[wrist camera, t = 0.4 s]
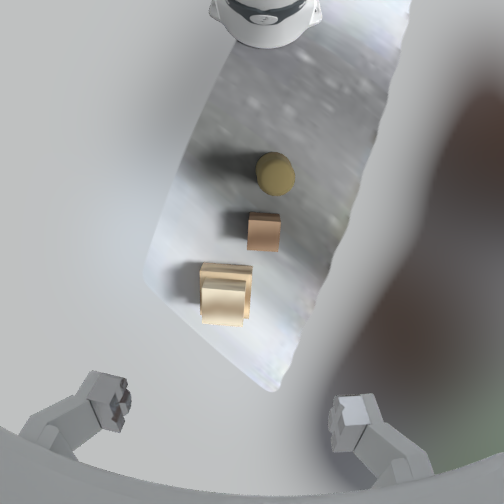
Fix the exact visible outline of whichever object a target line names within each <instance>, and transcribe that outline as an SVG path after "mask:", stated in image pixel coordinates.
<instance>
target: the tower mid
mask: <svg viewBox="0 0 504 504" xmlns="http://www.w3.org/2000/svg"><path fill="white" fill-rule="evenodd" d="M245 291H246V280H233V279H221V278H209V277H206V278H205V281H204V284H203V286H202V323H203V324H213V325H224V326H235V327H243V319H244V306H245Z"/></svg>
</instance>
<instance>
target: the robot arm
mask: <svg viewBox="0 0 504 504" xmlns="http://www.w3.org/2000/svg"><path fill="white" fill-rule="evenodd" d="M315 11H316V12H315ZM314 12H315V13H314ZM209 14H210V16H211V17H212V18H214V19H215V20H217V21H219V22H221V23H222V24H223V25H224V26H225V27H226V29H227V30H228V32H229V33H230V34H231V35H232V36H233V37H234V38H235V39H237V40H238V41H240V42H242V43H244V44H246V45H249V46H252V47H256V48H277V47H281V46H284V45H287V44H289V43H291V42H293V41H294V40H296V39H297V38H298V37H299V36H300V35H301V34H302V33H303V32H304V31H305V30H306V29H307V28H309V27H311V26H314V25H316V24H318V23H320V22H321V20H322V13H321V8H320V4H319V0H212V3H211V5H210V8H209ZM127 386H128V383H127V379H125V378H123V377H118V376H114V375H110V374H106V373H101V372H97V371H93V370H92V371H91V372H89V374H88V376H87V377H86V379H85V380H84V382H83V383H82V385H81V387H80V388H79V390H78V392H77V393H76V395H75V396H73V395H71V396H69V397H67V398H65V399H64V400H61V401H59V402H58V403H56V404H54V405H52V406H50V407H48V408H46V409H44V410H42V411H40V412H37V413H36V414H33V415H31V416H30V418H29V419H28V421H27V422H26V424H25V425H24V427H23V428H22V430H21V432H20V433H19V435H16V434H14V433H12V432H10V431H8V430H6V429H4V428H3V427H1V426H0V504H504V453H498V454H495V455H493V456H490V457H488V458H485V459H482V460H480V461H477V462H474V463H472V464H469V465H466V466H463V467H460V468H457V469H454V470H451V471H447V472H444V473H441V474H438V475H435V474H434V472H433V469H432V466H431V464H430V461H429V458H428V456H427V453H426V452H425V451H424V450H422V449H421V448H420V447H418V446H417V445H416V444H414V443H413V442H412V441H410V440H409V439H408V438H406V437H405V436H404V435H402V434H401V433H400V432H398V431H397V430H396V429H395V428H393V427H392V426H391V425H389V424H388V423H384V422H383V419H382V416H381V413H380V411H379V408H378V405H377V402H376V399H375V397H374V395H373V394H361V395H360V394H355V395H336V396H335V398H334V400H333V404H334V407H333V408H331V410H330V412H329V417H328V427H329V431H330V432H331V433H332V434H333V435H332V437H331V444H332V449H333V452H349V451H353V453H354V454H355V455H356V456H357V457H358V458H359V459H360V460H361V461H362V462H363V463H364V465H365V466H366V467H367V468H368V469H369V470H370V471H371V472H372V473H373V474H374V475H375V476H376V477H377V478H378V480H377V481H376V482H375V484H374V485H373V486H372V487H371V489H367V490H360V491H352V492H344V493H333V494H321V495H302V496H258V495H238V494H226V493H216V492H207V491H199V490H192V489H184V488H179V487H173V486H168V485H163V484H158V483H153V482H148V481H144V480H139V479H135V478H132V477H127V476H124V475H120V474H116V473H113V472H110V471H106V470H103V469H99V468H97V467H93V466H90V465H88V464H85V463H82V462H79V461H78V459H77V458H76V456H75V455H74V453H73V452H72V451H74V450H75V449H76V448H78V447H79V446H81V445H82V444H83V443H85V442H86V441H87V440H89V439H90V438H91V437H93V436H94V435H95V434H97V433H98V432H99V431H100V430H101V429H105V430H109V431H114V432H118V433H120V432H121V430H122V427H123V425H124V423H125V420H124V417H123V416H125V415H126V414H128V413H129V410H130V407H131V402H132V401H131V394H130V392H129V391H128V390H127V389H126V388H127Z"/></svg>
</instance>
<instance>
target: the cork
mask: <svg viewBox="0 0 504 504" xmlns="http://www.w3.org/2000/svg"><path fill="white" fill-rule="evenodd" d="M256 175H257V181H258V184H259V187H260V188H261V189H262V191H264V192H265V193H267V194H268V195H272V196H281V195H284V194H286V193H287V192H289V191H290V190H291V188H292V187H293V185H294V182H295V173H294V170H293V168H292V166H291V163H290V161H289V160H288V158H287V157H286V156H284V155H283V154H280V153H277V152H270V153H267V154H265V155H263V156H262V157H261V158H260V159H259V160H258V162H257V165H256Z"/></svg>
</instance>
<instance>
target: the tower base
mask: <svg viewBox="0 0 504 504" xmlns="http://www.w3.org/2000/svg"><path fill="white" fill-rule="evenodd" d="M252 267H253V266H244V265H230V264H216V263H203V264H202V267H201V269H200V315H202V286H203V284H204V281H205V278H206V277H209V278H221V279H233V280H246V291H245V306H244V318H246V319H249V311H250V297H251V282H252Z"/></svg>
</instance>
